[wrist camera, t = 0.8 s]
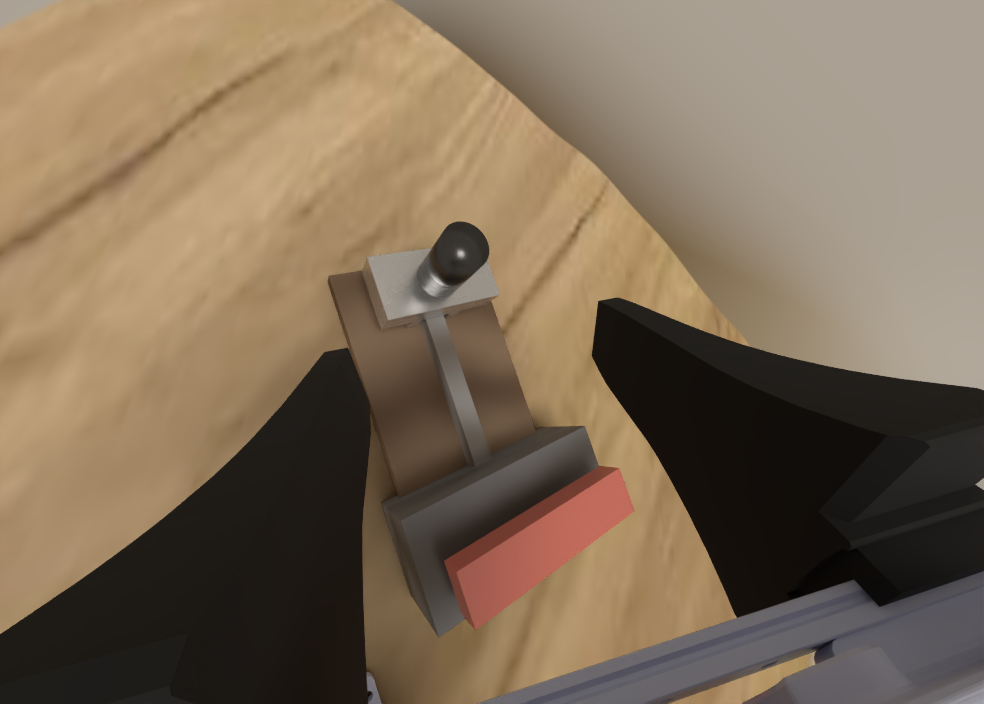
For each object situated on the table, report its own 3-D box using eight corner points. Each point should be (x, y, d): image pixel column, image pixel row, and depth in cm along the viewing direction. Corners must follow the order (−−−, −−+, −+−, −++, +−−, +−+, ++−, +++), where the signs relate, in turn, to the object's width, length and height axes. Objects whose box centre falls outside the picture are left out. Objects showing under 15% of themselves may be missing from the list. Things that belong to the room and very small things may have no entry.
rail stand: (564, 498, 27) (614, 511, 22) (410, 594, 21) (438, 637, 16) (480, 257, 28) (513, 224, 23) (310, 284, 22) (311, 247, 17)
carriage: (477, 310, 25) (536, 269, 19) (376, 335, 22) (407, 294, 15) (460, 263, 25) (513, 205, 19) (358, 280, 22) (381, 217, 15)
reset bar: (613, 505, 21) (634, 511, 19) (461, 613, 16) (475, 630, 15) (599, 465, 21) (619, 468, 20) (443, 560, 16) (456, 572, 15)
